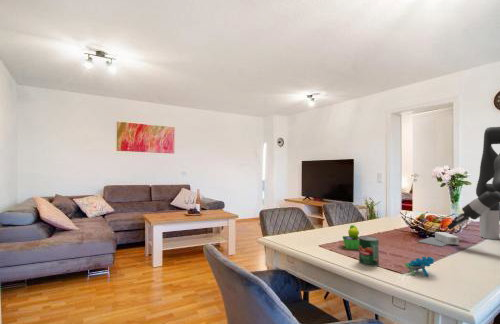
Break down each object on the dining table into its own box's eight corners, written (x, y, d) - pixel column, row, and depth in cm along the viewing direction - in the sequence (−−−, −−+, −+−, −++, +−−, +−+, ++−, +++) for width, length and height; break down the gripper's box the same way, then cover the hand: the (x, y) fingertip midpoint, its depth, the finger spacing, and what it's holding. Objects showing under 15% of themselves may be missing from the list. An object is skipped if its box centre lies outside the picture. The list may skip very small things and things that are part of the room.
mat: (431, 237, 166) (431, 237, 166) (454, 242, 156) (454, 241, 157) (417, 241, 156) (417, 241, 156) (441, 247, 146) (441, 246, 146)
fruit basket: (343, 249, 140) (343, 227, 140) (342, 244, 149) (342, 223, 149) (367, 251, 137) (367, 228, 138) (364, 246, 146) (364, 225, 146)
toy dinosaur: (427, 265, 113) (436, 253, 106) (435, 279, 108) (445, 268, 102) (400, 268, 113) (407, 256, 106) (407, 282, 109) (415, 271, 102)
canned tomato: (379, 262, 121) (379, 237, 121) (377, 267, 114) (377, 241, 114) (360, 259, 125) (360, 234, 125) (357, 264, 118) (357, 238, 118)
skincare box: (459, 245, 149) (445, 239, 161) (459, 237, 149) (445, 232, 161) (447, 244, 150) (434, 238, 162) (447, 236, 150) (434, 231, 162)
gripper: (474, 202, 147) (447, 221, 157) (465, 203, 139) (438, 223, 149) (487, 213, 142) (459, 232, 152) (478, 215, 135) (449, 235, 144)
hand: (448, 228), depth 150 cm, fingers closed
